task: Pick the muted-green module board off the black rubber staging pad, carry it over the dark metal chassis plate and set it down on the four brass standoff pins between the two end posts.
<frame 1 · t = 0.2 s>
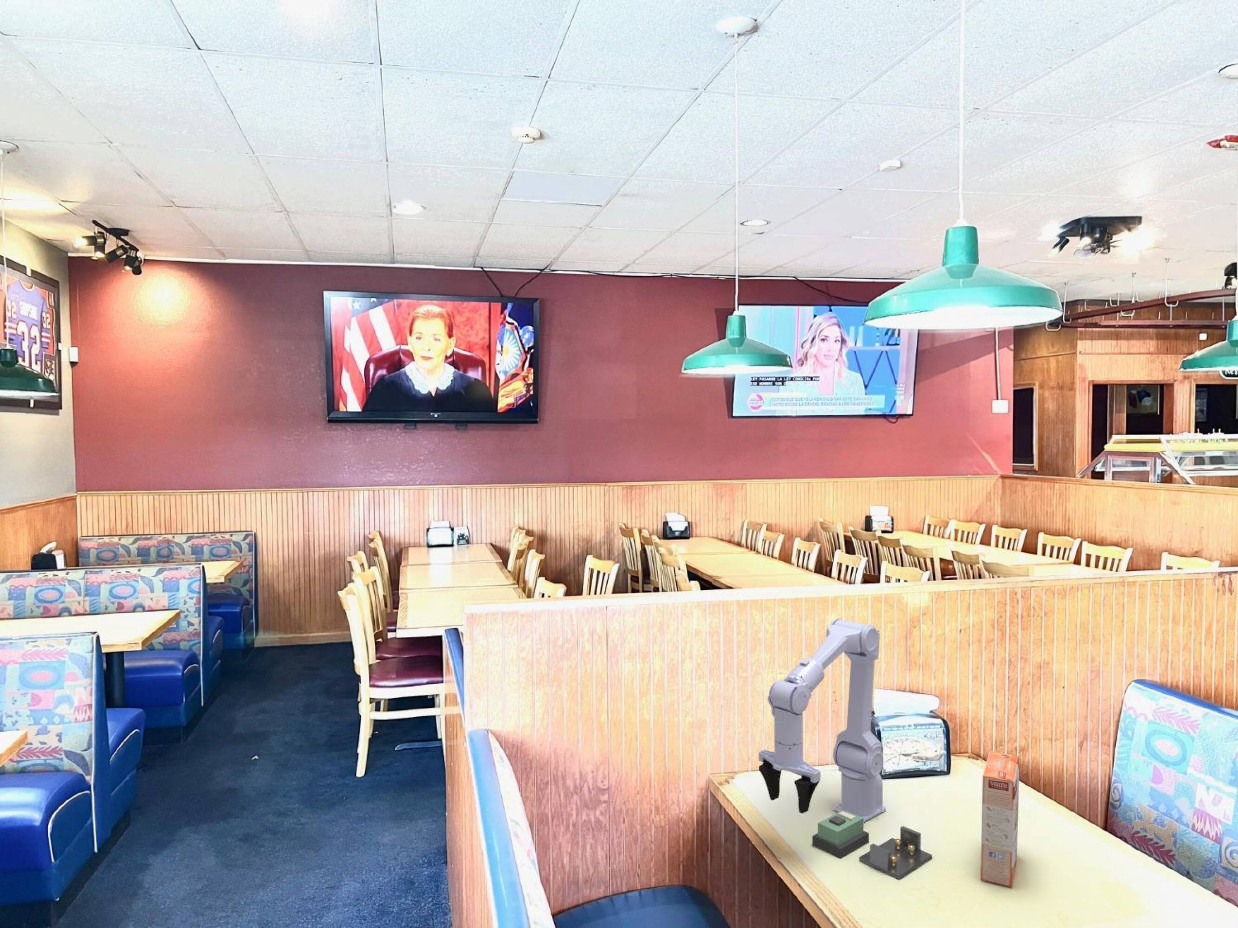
hand: (788, 804, 167), 10 cm above the table, fingers open, 7 cm apart
chassis: (895, 859, 163), on the table
pad: (840, 843, 170), on the table
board: (840, 834, 170), point 2 cm above the table, touching pad
cracker box: (1000, 868, 160), on the table
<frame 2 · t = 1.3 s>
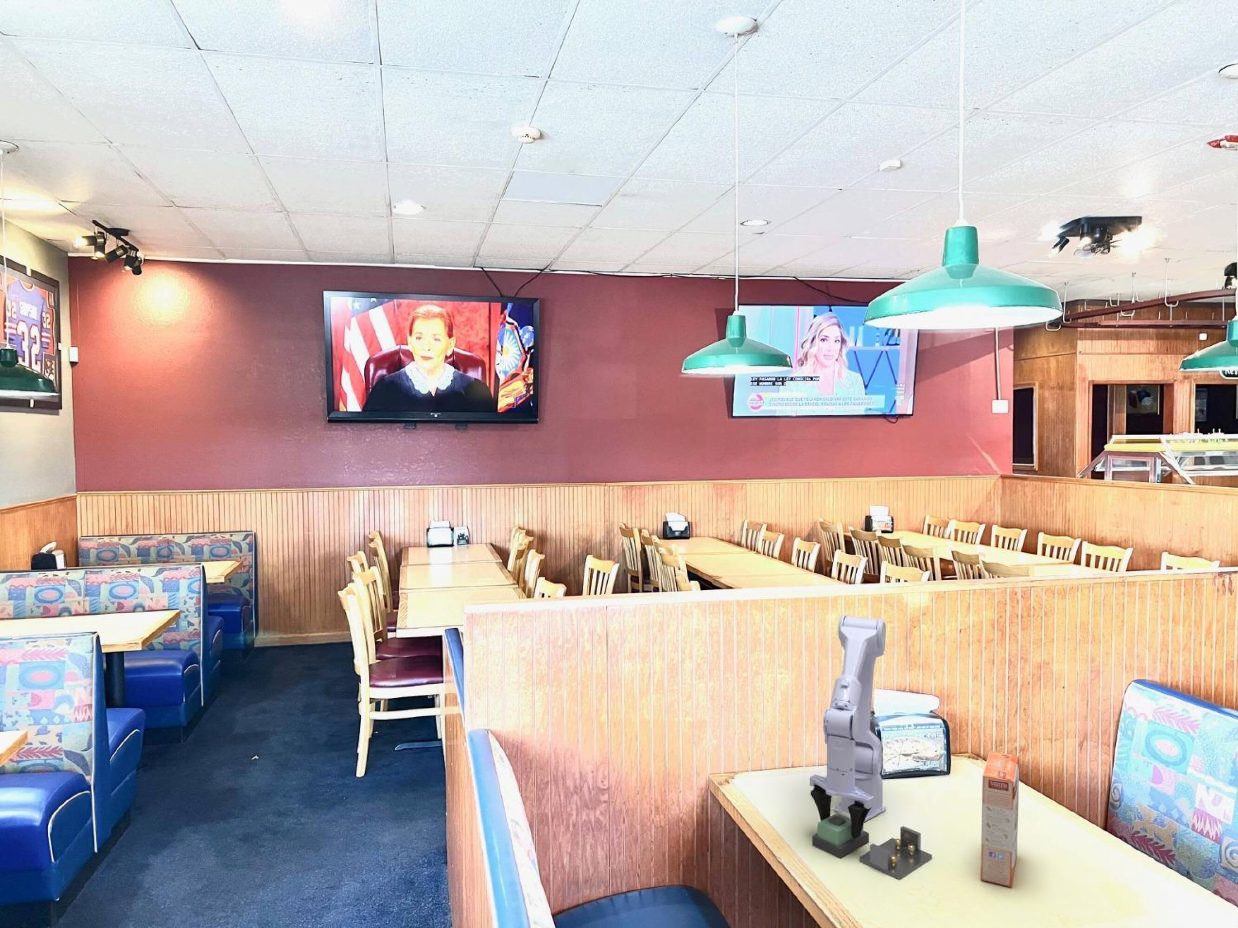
hand: (840, 829, 170), 3 cm above the table, fingers open, 7 cm apart
nothing on the table moved.
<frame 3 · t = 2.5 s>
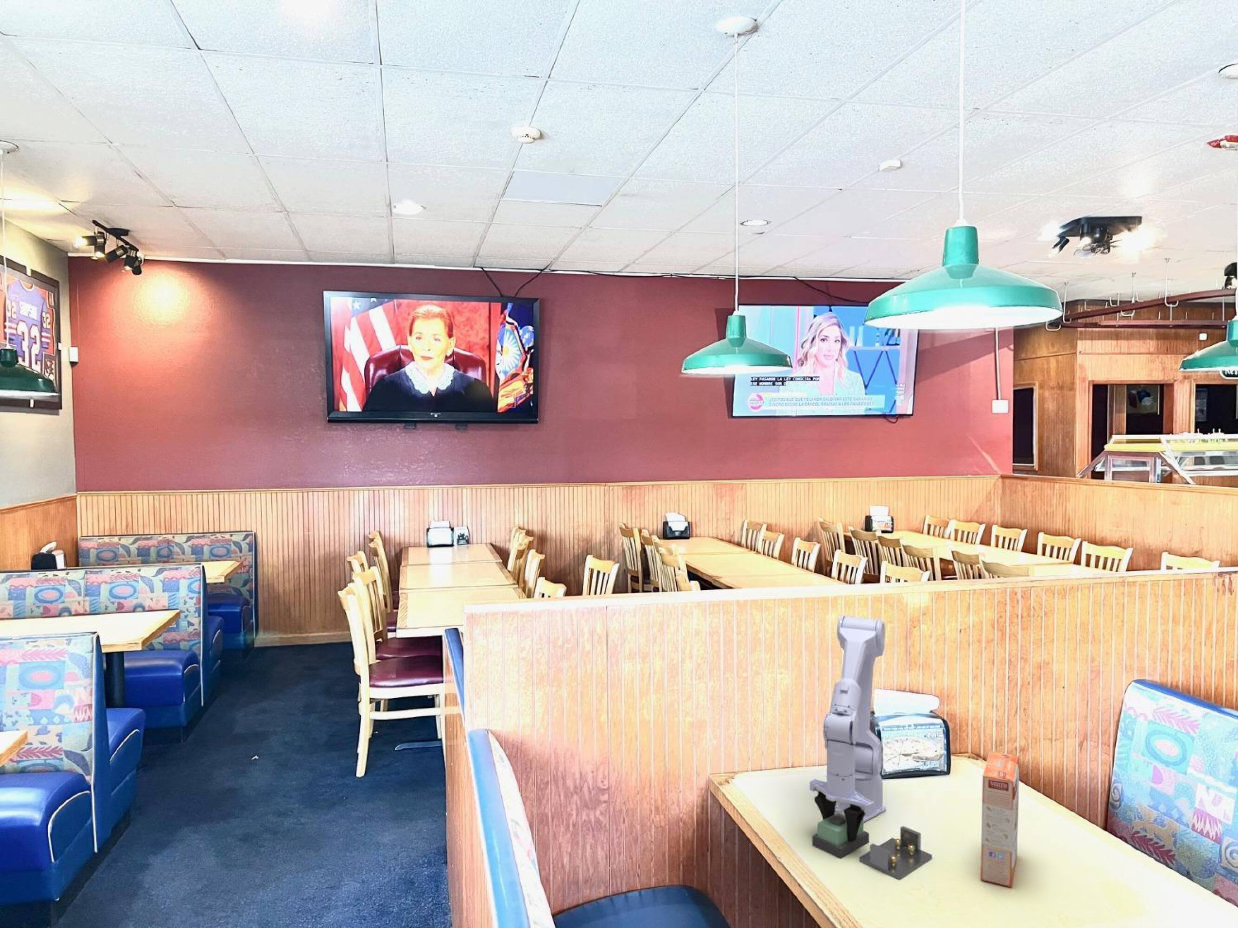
hand: (840, 834, 170), 2 cm above the table, fingers closed on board, 5 cm apart
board: (840, 834, 170), point 2 cm above the table, touching gripper, pad
everything else where it was.
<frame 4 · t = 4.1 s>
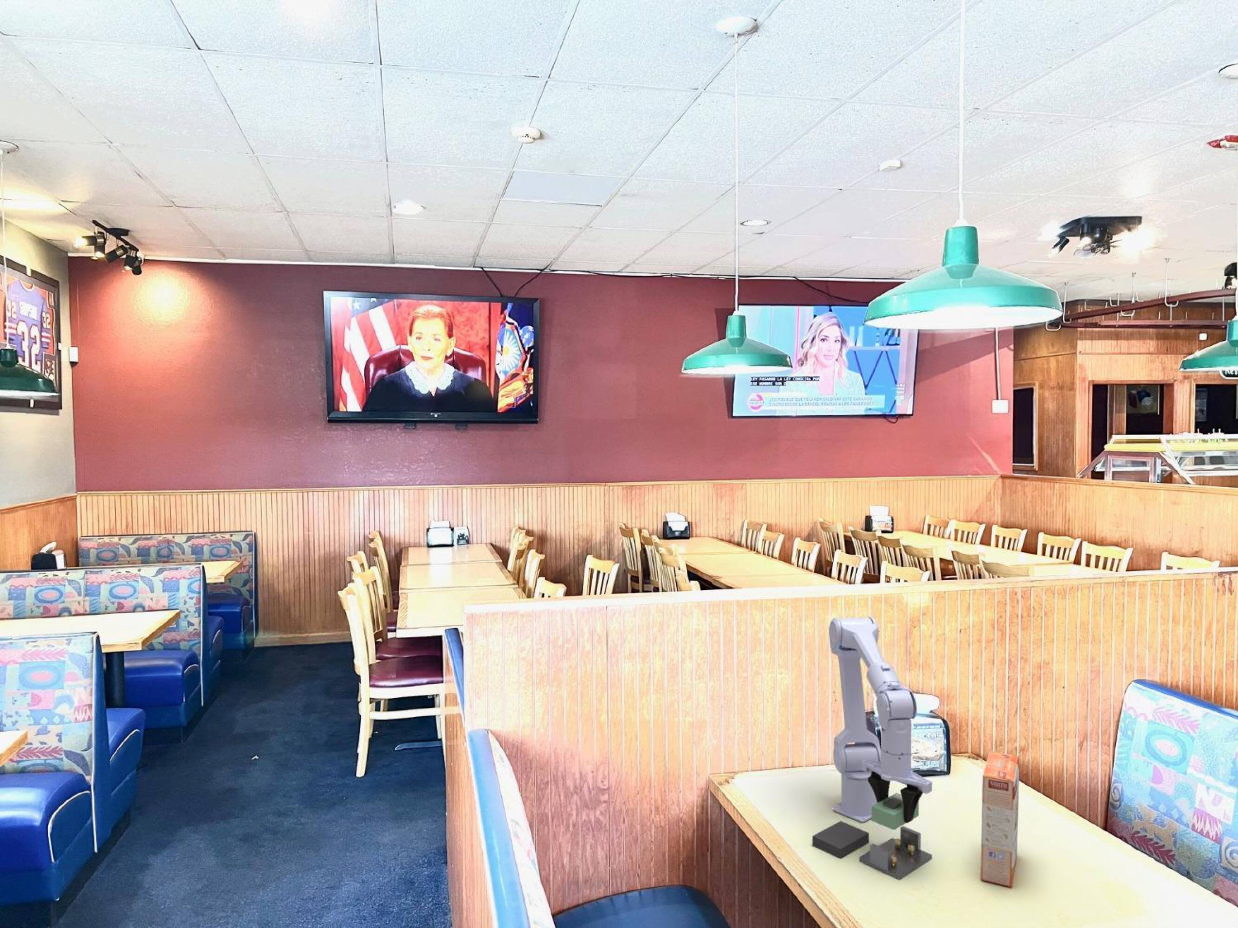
hand: (895, 815, 163), 9 cm above the table, fingers closed on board, 5 cm apart
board: (895, 818, 163), point 9 cm above the table, touching gripper
everything else where it was.
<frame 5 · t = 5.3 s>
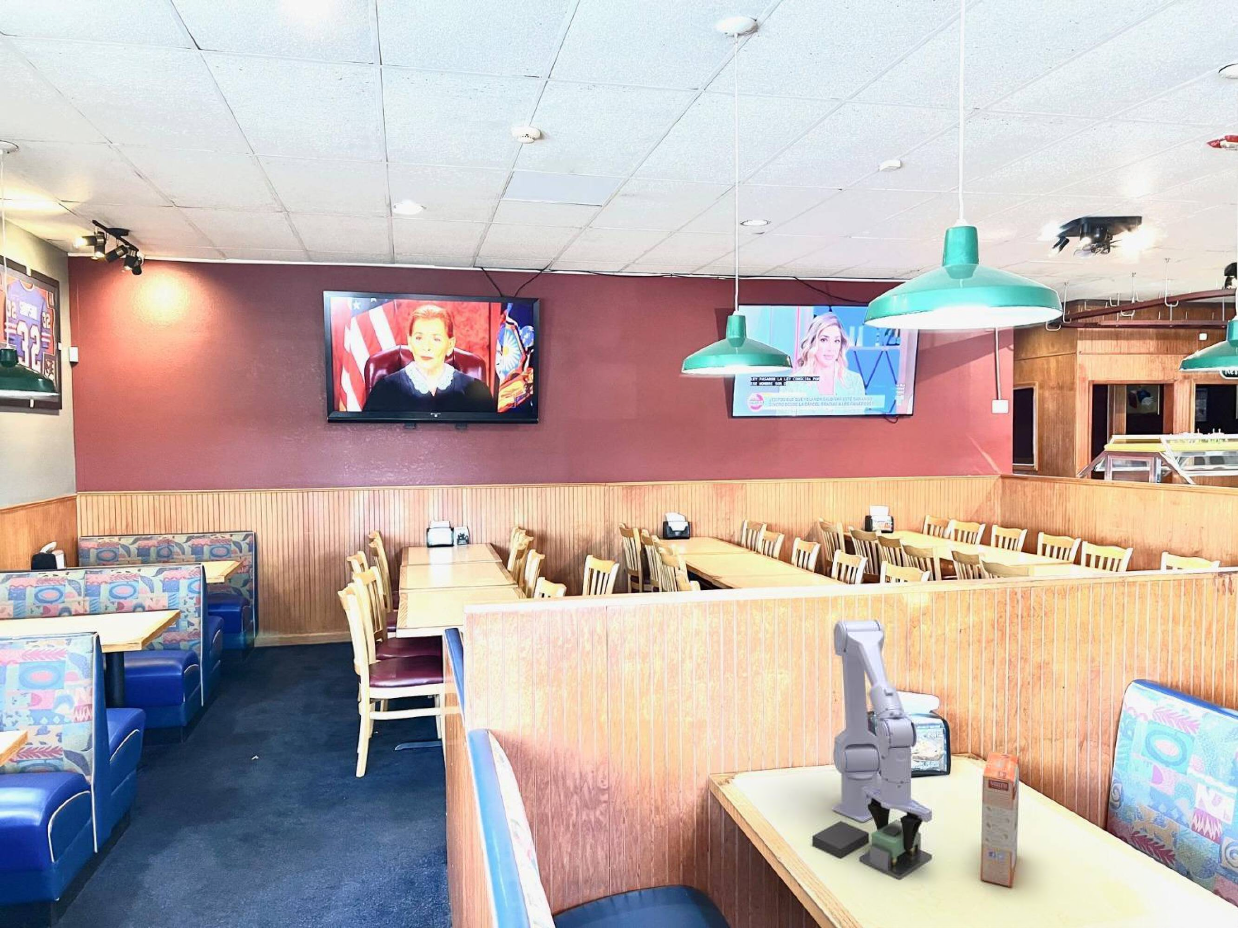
hand: (895, 843, 163), 3 cm above the table, fingers closed on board, 5 cm apart
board: (895, 845, 163), point 3 cm above the table, touching gripper
everything else where it was.
when the fingers open (3 cm above the table, at t = 6.0 s): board stays where it is, resting on chassis.
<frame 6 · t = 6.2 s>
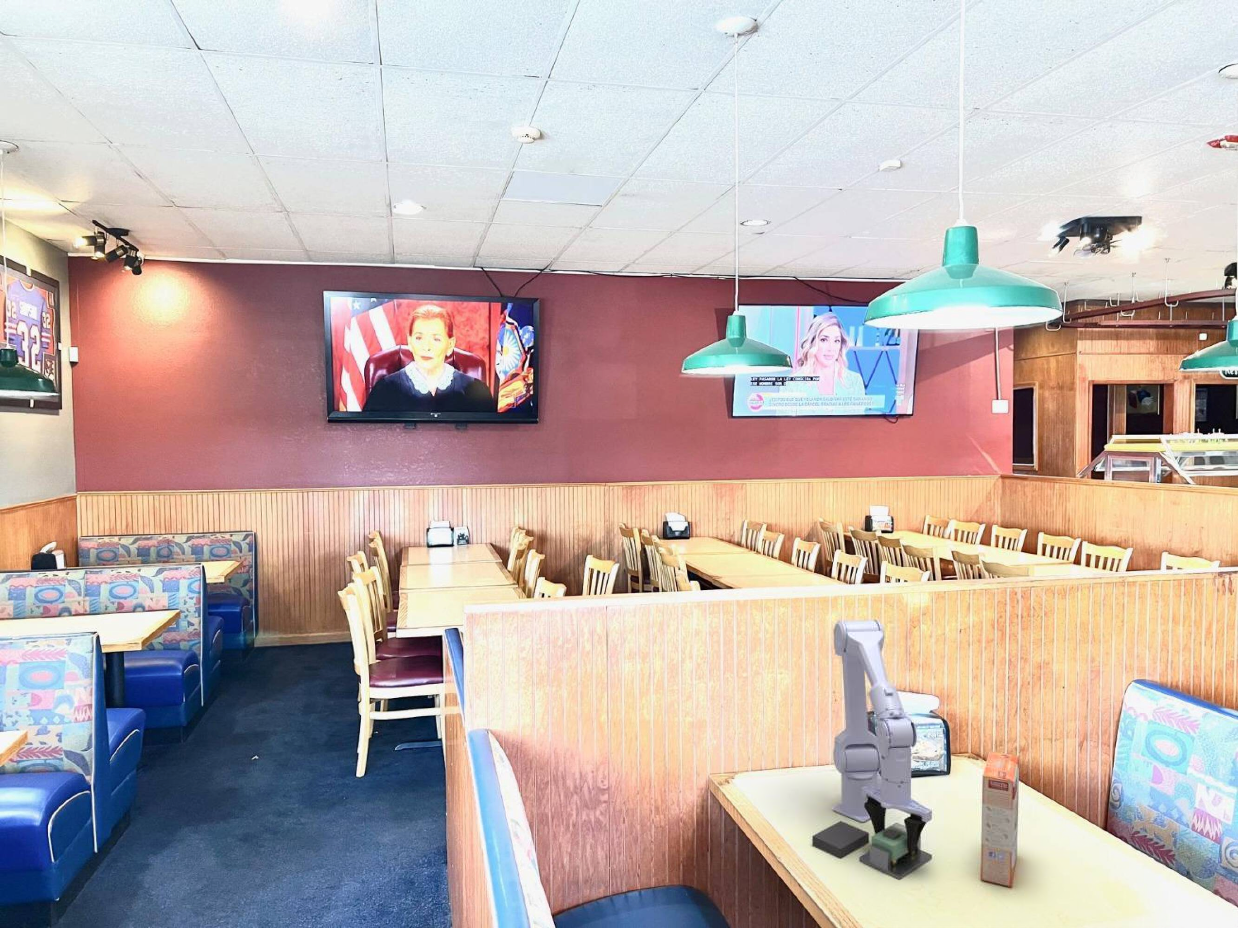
hand: (895, 843, 163), 3 cm above the table, fingers open, 7 cm apart
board: (895, 848, 163), point 2 cm above the table, touching chassis
everything else where it was.
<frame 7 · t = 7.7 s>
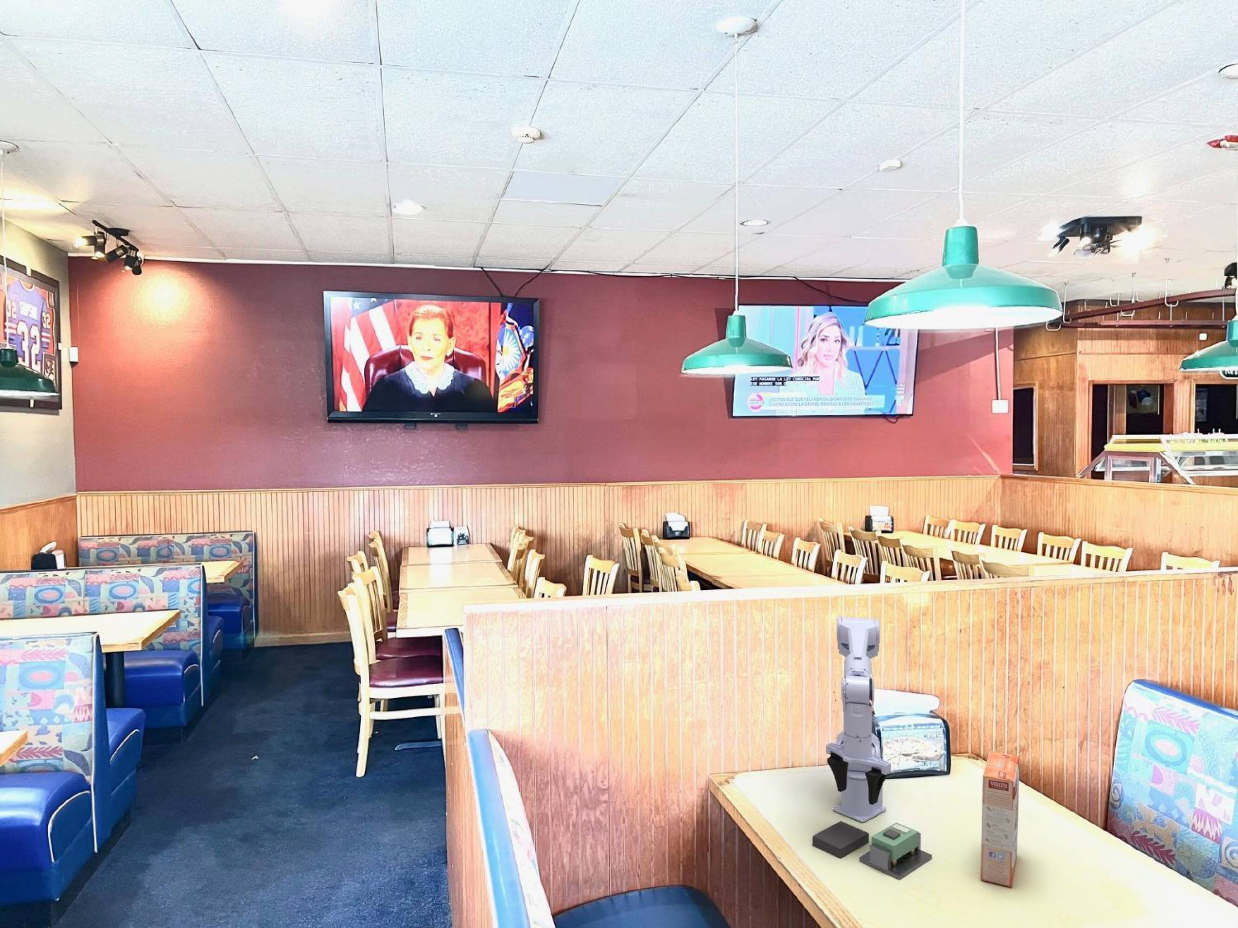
hand: (857, 796, 170), 10 cm above the table, fingers open, 7 cm apart
nothing on the table moved.
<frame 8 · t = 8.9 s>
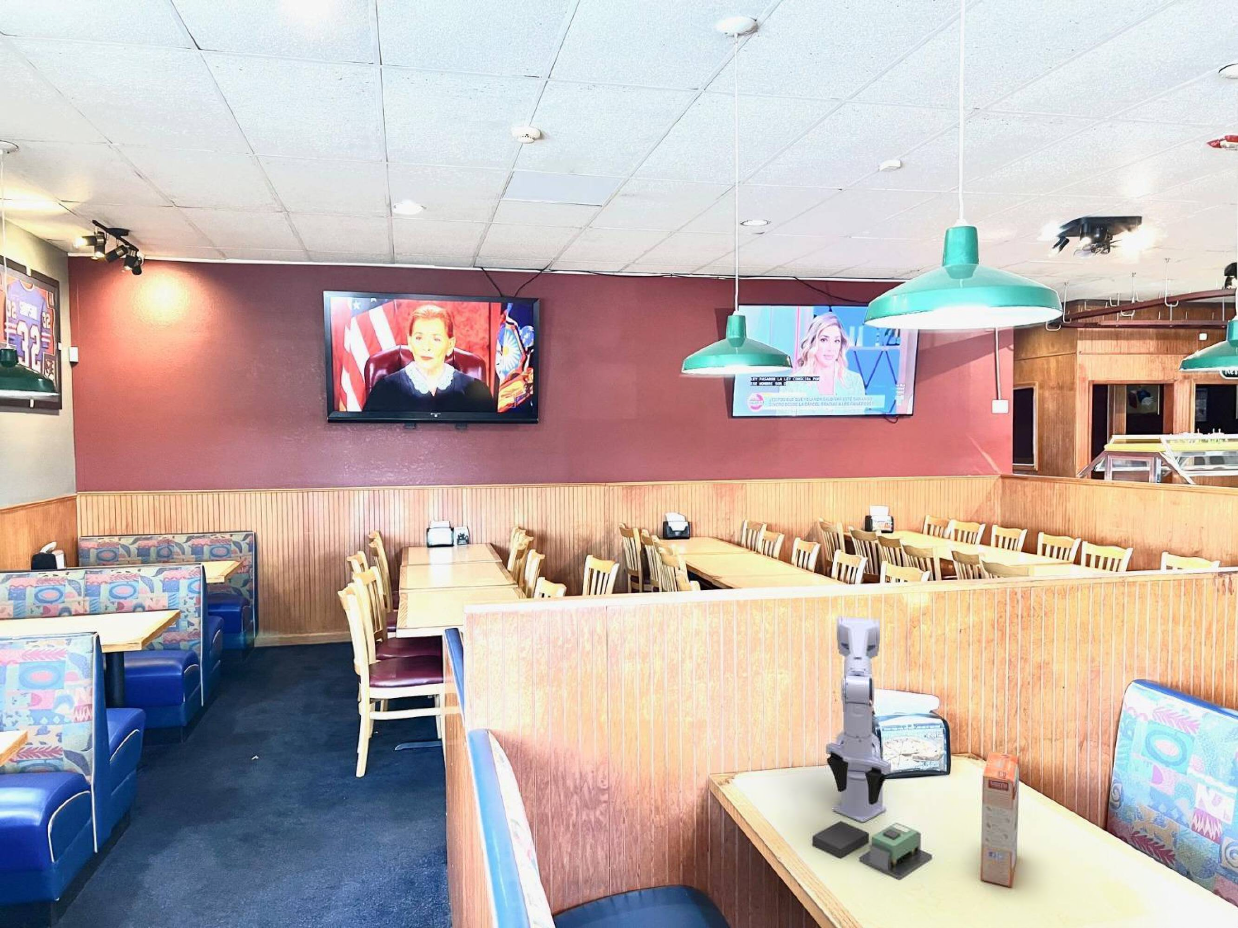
hand: (857, 796, 170), 10 cm above the table, fingers open, 7 cm apart
nothing on the table moved.
at the end: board 0.2 cm off-centre on the chassis, point 2.4 cm above the chassis's base; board tilted 0°; the gripper is holding nothing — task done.
